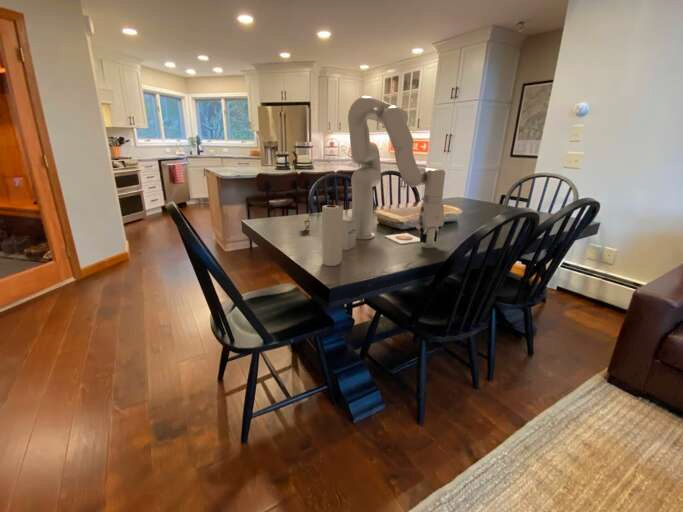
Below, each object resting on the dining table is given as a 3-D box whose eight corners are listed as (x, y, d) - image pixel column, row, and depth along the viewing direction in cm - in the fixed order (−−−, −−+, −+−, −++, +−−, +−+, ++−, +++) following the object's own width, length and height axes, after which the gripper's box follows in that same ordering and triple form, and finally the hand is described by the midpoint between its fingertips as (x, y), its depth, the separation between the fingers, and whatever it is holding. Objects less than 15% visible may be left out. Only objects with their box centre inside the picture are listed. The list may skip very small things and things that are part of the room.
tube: (426, 248, 140) (429, 225, 137) (418, 245, 144) (421, 223, 141) (436, 247, 142) (438, 224, 139) (428, 244, 147) (430, 222, 143)
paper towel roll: (322, 266, 118) (322, 207, 111) (322, 260, 124) (322, 204, 117) (342, 266, 118) (343, 207, 111) (342, 260, 124) (343, 204, 117)
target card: (400, 244, 145) (400, 243, 145) (384, 237, 156) (384, 235, 156) (424, 241, 150) (424, 239, 150) (406, 234, 161) (406, 232, 161)
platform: (318, 227, 173) (318, 215, 170) (321, 236, 156) (321, 223, 154) (295, 227, 171) (295, 215, 169) (295, 237, 154) (295, 223, 152)
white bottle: (347, 251, 135) (348, 221, 131) (332, 247, 139) (332, 218, 135) (356, 246, 141) (357, 217, 137) (341, 243, 145) (342, 215, 141)
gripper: (422, 202, 130) (417, 246, 136) (454, 199, 137) (449, 241, 143) (410, 199, 136) (406, 241, 142) (442, 196, 143) (437, 237, 149)
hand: (428, 240), depth 143 cm, fingers closed on tube, 5 cm apart
